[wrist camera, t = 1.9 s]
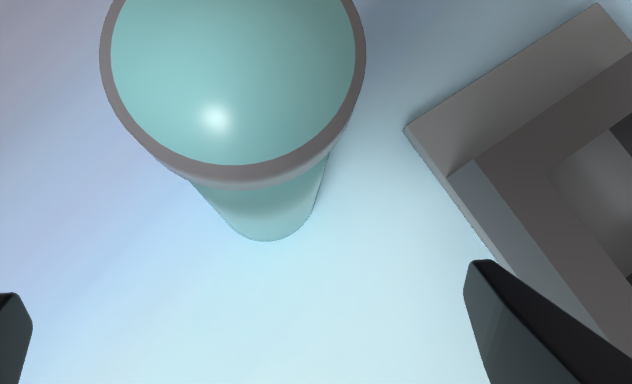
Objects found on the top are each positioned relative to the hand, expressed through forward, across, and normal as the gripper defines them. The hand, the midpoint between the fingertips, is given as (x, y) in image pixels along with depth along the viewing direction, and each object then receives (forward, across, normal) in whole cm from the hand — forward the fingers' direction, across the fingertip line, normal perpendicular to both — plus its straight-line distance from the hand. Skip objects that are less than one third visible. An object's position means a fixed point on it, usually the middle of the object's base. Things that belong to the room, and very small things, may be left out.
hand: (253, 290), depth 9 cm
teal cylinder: (+11, 0, +5) cm, 12 cm away
